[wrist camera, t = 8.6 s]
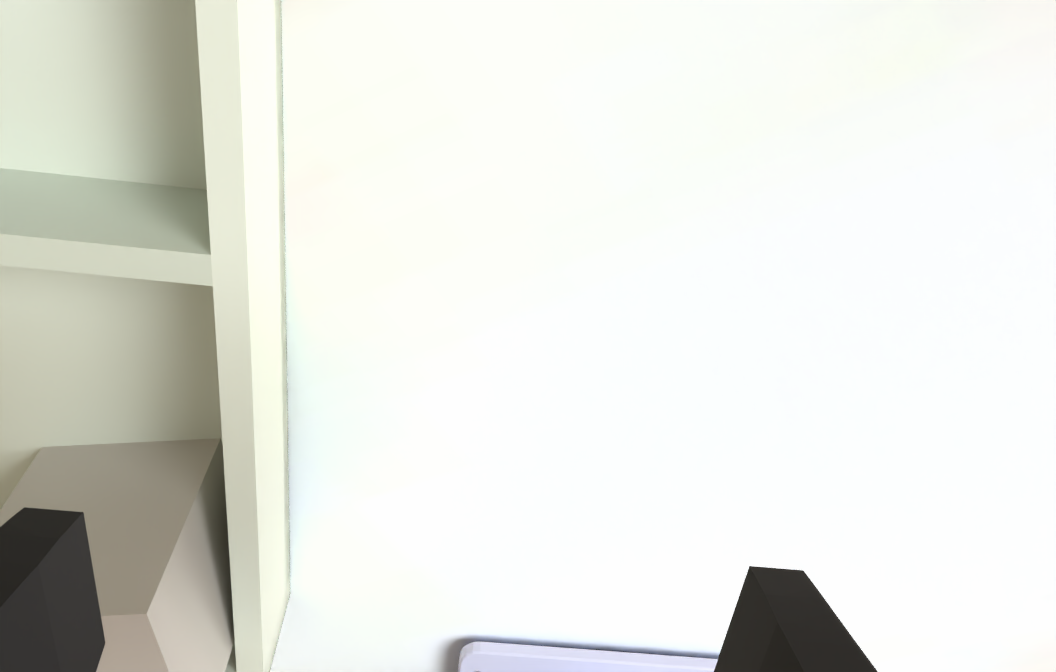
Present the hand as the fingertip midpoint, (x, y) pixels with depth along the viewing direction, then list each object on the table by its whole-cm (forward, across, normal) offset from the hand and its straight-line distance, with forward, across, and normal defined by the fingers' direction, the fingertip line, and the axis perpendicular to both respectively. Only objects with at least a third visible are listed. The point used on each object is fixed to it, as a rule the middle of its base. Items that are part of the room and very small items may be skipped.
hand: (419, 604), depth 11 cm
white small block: (+9, +6, +8) cm, 14 cm away
